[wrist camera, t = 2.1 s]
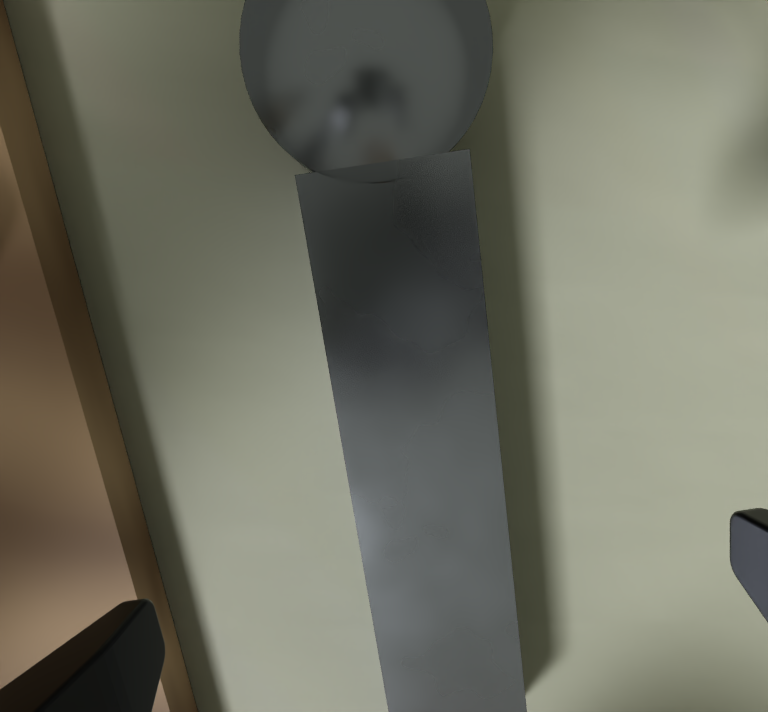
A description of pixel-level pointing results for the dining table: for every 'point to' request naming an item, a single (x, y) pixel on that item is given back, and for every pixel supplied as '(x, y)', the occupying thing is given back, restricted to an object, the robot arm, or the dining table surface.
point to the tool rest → (59, 430)
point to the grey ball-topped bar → (403, 321)
